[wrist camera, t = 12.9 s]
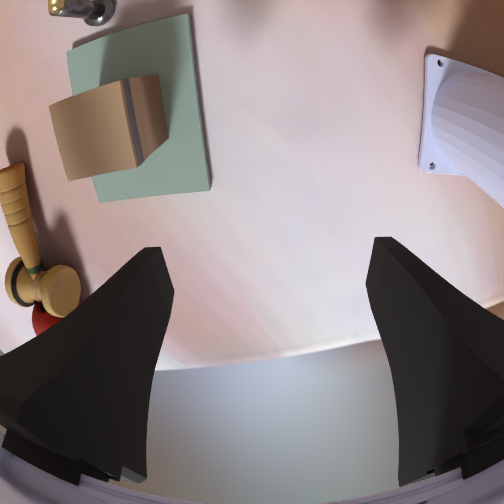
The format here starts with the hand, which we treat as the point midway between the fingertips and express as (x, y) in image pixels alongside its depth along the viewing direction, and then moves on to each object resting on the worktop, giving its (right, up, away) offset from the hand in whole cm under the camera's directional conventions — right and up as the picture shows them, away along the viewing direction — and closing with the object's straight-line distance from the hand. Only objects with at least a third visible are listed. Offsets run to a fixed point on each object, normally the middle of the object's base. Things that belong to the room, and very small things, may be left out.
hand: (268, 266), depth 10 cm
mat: (-8, +9, +6) cm, 13 cm away
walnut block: (-8, +9, +5) cm, 12 cm away
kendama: (-19, +1, +12) cm, 23 cm away
